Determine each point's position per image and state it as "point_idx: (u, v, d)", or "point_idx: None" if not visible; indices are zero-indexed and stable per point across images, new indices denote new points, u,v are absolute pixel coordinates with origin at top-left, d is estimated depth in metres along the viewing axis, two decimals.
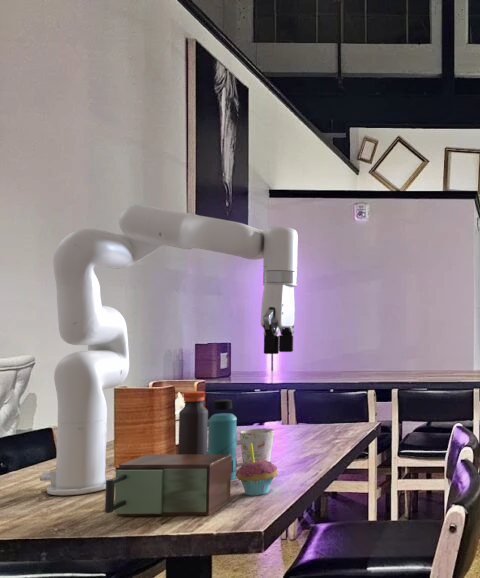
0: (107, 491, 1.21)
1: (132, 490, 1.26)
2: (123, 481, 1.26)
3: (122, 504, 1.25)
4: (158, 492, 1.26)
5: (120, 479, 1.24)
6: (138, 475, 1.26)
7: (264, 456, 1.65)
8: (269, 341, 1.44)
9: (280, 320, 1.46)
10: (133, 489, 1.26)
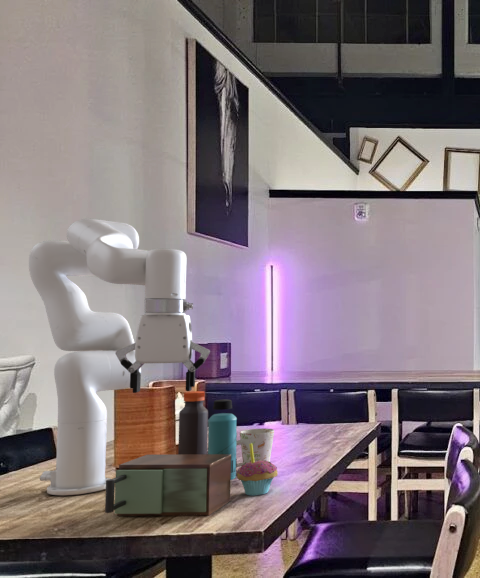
0: (107, 491, 1.21)
1: (132, 490, 1.26)
2: (123, 481, 1.26)
3: (122, 504, 1.25)
4: (158, 492, 1.26)
5: (120, 479, 1.24)
6: (138, 475, 1.26)
7: (264, 456, 1.65)
8: None
9: (136, 355, 1.29)
10: (133, 489, 1.26)
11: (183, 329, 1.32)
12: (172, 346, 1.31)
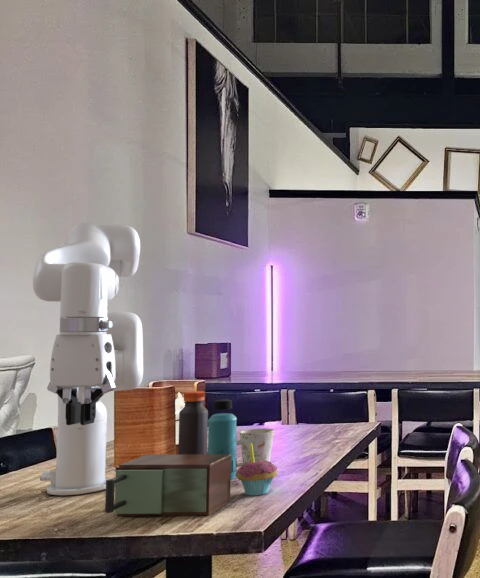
0: (107, 491, 1.21)
1: (132, 490, 1.26)
2: (123, 481, 1.26)
3: (122, 504, 1.25)
4: (158, 492, 1.26)
5: (120, 479, 1.24)
6: (138, 475, 1.26)
7: (264, 456, 1.65)
8: None
9: (50, 378, 1.21)
10: (133, 489, 1.26)
11: (96, 350, 1.21)
12: (84, 368, 1.20)
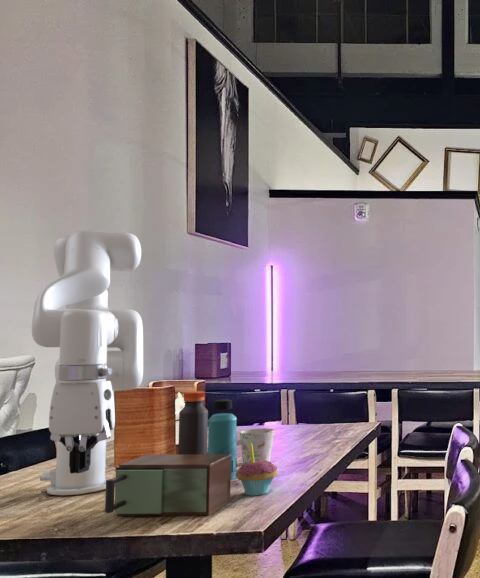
0: (107, 491, 1.21)
1: (132, 490, 1.26)
2: (123, 481, 1.26)
3: (122, 504, 1.25)
4: (158, 492, 1.26)
5: (120, 479, 1.24)
6: (138, 475, 1.26)
7: (264, 456, 1.65)
8: None
9: (49, 426, 1.20)
10: (133, 489, 1.26)
11: (95, 398, 1.20)
12: (83, 417, 1.20)
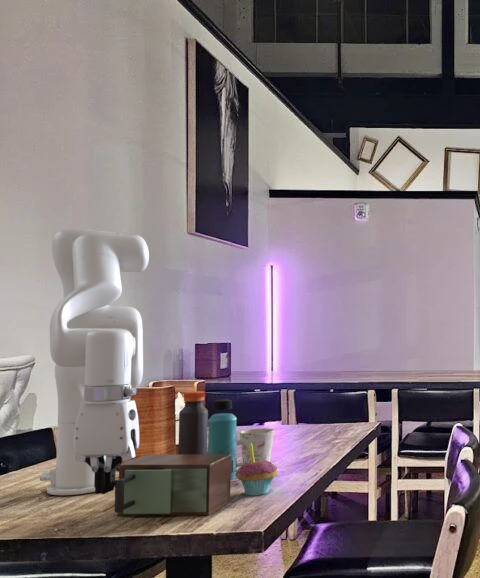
0: (116, 491, 1.21)
1: (141, 490, 1.26)
2: (132, 481, 1.26)
3: (131, 504, 1.25)
4: (167, 492, 1.26)
5: (129, 479, 1.24)
6: (147, 475, 1.26)
7: (264, 456, 1.65)
8: None
9: (74, 447, 1.20)
10: (142, 489, 1.26)
11: (120, 418, 1.20)
12: (109, 437, 1.20)
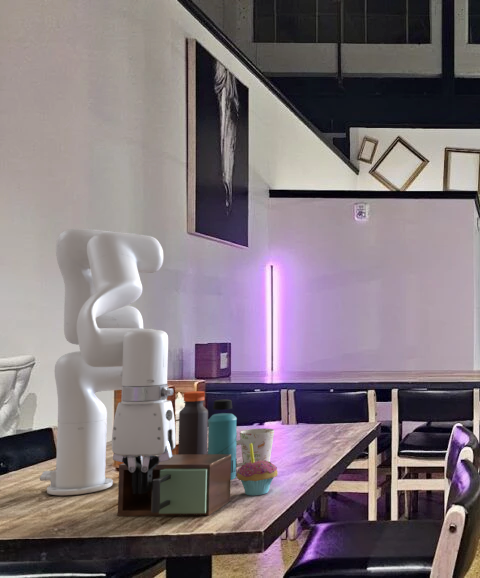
0: (153, 491, 1.21)
1: (176, 490, 1.26)
2: (167, 481, 1.26)
3: (167, 504, 1.25)
4: (203, 492, 1.26)
5: (165, 479, 1.24)
6: (182, 475, 1.26)
7: (264, 456, 1.65)
8: None
9: (112, 447, 1.20)
10: (177, 488, 1.26)
11: (158, 419, 1.20)
12: (146, 438, 1.20)
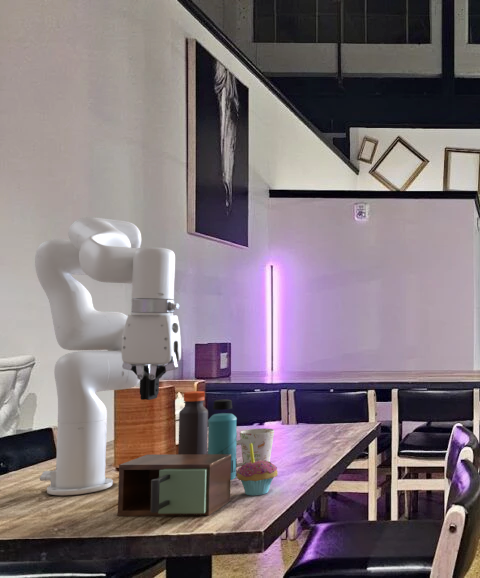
0: (153, 491, 1.21)
1: (176, 490, 1.26)
2: (167, 481, 1.26)
3: (166, 504, 1.25)
4: (202, 492, 1.26)
5: (165, 479, 1.24)
6: (181, 475, 1.26)
7: (264, 456, 1.65)
8: None
9: (122, 355, 1.28)
10: (176, 488, 1.26)
11: (164, 330, 1.28)
12: (154, 347, 1.28)
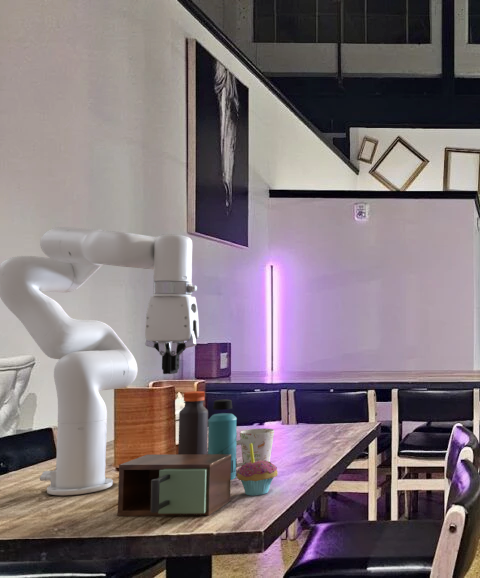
0: (153, 491, 1.21)
1: (176, 490, 1.26)
2: (167, 481, 1.26)
3: (166, 504, 1.25)
4: (202, 492, 1.26)
5: (165, 479, 1.24)
6: (181, 475, 1.26)
7: (264, 456, 1.65)
8: None
9: (145, 333, 1.40)
10: (176, 488, 1.26)
11: (184, 309, 1.40)
12: (175, 325, 1.40)
